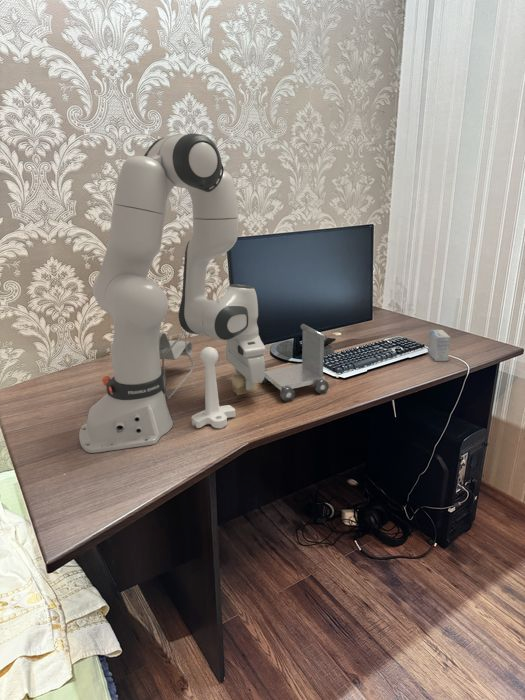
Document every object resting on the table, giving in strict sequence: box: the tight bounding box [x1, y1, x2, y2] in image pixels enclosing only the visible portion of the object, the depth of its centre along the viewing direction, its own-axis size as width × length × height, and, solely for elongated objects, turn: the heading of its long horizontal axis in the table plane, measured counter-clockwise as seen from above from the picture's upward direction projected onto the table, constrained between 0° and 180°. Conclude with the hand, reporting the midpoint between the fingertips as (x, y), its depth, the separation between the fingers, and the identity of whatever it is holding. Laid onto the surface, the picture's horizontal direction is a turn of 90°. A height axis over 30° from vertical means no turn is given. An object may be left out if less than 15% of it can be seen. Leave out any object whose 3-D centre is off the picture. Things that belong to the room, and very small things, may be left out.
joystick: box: [191, 346, 236, 429], centre depth 115 cm, size 11×8×20 cm
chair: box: [159, 331, 194, 400], centre depth 139 cm, size 13×25×20 cm, turn 170°
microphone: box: [324, 337, 336, 346], centre depth 169 cm, size 6×6×20 cm
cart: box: [261, 323, 330, 403], centre depth 134 cm, size 15×15×17 cm
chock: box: [231, 374, 258, 396], centre depth 135 cm, size 6×4×4 cm, turn 115°
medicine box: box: [427, 329, 451, 362], centre depth 156 cm, size 8×4×9 cm, turn 179°
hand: (244, 385), depth 135 cm, fingers closed on chock, 4 cm apart
